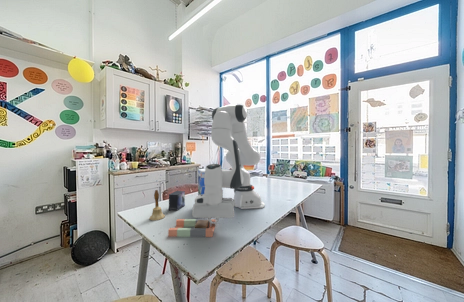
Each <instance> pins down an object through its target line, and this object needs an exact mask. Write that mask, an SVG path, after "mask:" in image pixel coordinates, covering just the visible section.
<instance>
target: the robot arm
mask: <svg viewBox="0 0 464 302" xmlns="http://www.w3.org/2000/svg"><path fill="white" fill-rule="evenodd" d="M247 116H248V112H247V108H246V106H245V105H244V104H243V103H237V104H234V103H233V104H227V105H225V106H224V105H223V106H221V107H216V108H214V109H213V111H212V112H211V119H212V122H211V123H212V124H211V130H210V131H211V132H210V133H211V134H210V135H211V140H212V142H213V144H215V145H216V146H218V147H220V148H222V149H225V150H226V151H227V152H226V154H225V160H226V162H227V164H229V165H230V167H231V168H232V169H226V168H223V167H222V165H221V164H218V163H210V164H207V165H206V166H205V168H204V169H205V176H204V184H205V191H204V194H202V195H198V194H197V196H196V197H195V198H194V204H193V206H192V210H191V211H192V213H191V216H192V218H193V219H208V221H209V222H210V227H215V228H217V226H218V222H219V219H233V218H234V217H235V207H236V208H239V209H242V210H246V209H247V210H249V209H263V208H265V205H266V204H265V202H264V201H263V200H262V197H261V195H260V194H259V193H257V191H255V186H253V184H251V174H250V172H249V171H248V170H247V169H246V168H245V167H244V166H256V165H258V164H259V163H260V160H261V155H260V153H259V151H257V150H256V149H255V148H254V147H253V146H252V145H251V143H250V142H249V138H248V133H247V130H246V124H245V120H246V119H247ZM222 168H223V169H222ZM223 189H233V192H234V194H233V198H232V197H223V193H224V192H223V191H224V190H223ZM211 219H216V222H212V220H211Z"/></svg>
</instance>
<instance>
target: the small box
mask: <svg viewBox="0 0 464 302" xmlns="http://www.w3.org/2000/svg"><path fill="white" fill-rule="evenodd" d="M185 194H186V191H184V190H175V191H173V192H171V193H169V194H168V211H175V212H177V211H180V210H181V209H182V208H184V207H185V204H186V203H185V200H186V199H185V198H186V196H185Z"/></svg>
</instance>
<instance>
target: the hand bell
mask: <svg viewBox="0 0 464 302" xmlns="http://www.w3.org/2000/svg"><path fill="white" fill-rule="evenodd" d="M153 196H154V197H153V199H154V201H155V203H154V205H155V206H154V207H153V208H152V213H151V215H150V217H149V218H148V219H149V220H150V221H153V222H155V221H160V220H163V219H164V218H165V217H166V215H165V214H164V213H163V211H162V207H160V206H159V198H160V193H159V191H158V189H156V190H154V194H153Z"/></svg>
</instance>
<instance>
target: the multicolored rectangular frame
mask: <svg viewBox="0 0 464 302" xmlns="http://www.w3.org/2000/svg"><path fill="white" fill-rule="evenodd" d="M198 220H208V218H192V219H191V218H177V219H176V221H175V226H174V227H170V228H168V231H167V232H168V233H167V234H168V237H176V238H177V237H182V238H184V237H187V238H188V237H191V238H193V237H194V238H213V235H214V232H215V228H216V227H210V222H209V221H208V228H195V224H196V223H197V221H198ZM211 220H212V222H216V218H211Z"/></svg>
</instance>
